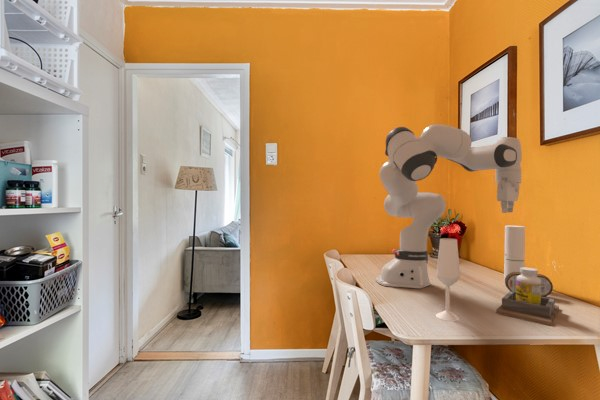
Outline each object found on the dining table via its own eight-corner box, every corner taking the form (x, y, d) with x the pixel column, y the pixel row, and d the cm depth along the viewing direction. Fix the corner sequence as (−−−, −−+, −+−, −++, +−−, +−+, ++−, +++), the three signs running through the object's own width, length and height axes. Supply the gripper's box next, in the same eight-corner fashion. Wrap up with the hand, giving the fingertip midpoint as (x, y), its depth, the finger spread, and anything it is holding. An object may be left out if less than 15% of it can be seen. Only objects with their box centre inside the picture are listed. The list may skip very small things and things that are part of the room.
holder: (551, 325, 93) (551, 311, 93) (495, 313, 103) (496, 300, 102) (558, 308, 107) (559, 296, 107) (509, 299, 117) (509, 288, 117)
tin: (551, 296, 121) (551, 274, 121) (553, 299, 118) (554, 276, 118) (504, 291, 127) (504, 270, 127) (505, 293, 124) (505, 271, 124)
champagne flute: (432, 312, 102) (433, 237, 102) (453, 313, 102) (454, 237, 102) (440, 320, 96) (441, 240, 95) (463, 321, 95) (464, 240, 95)
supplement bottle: (510, 304, 108) (511, 266, 108) (529, 304, 108) (530, 266, 108) (526, 311, 101) (527, 271, 101) (546, 311, 102) (546, 271, 102)
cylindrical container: (517, 282, 141) (518, 225, 140) (527, 287, 133) (528, 227, 133) (500, 282, 141) (501, 225, 141) (509, 286, 134) (510, 226, 134)
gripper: (511, 176, 120) (511, 213, 120) (522, 179, 134) (521, 212, 134) (492, 177, 124) (491, 213, 124) (504, 179, 139) (504, 211, 139)
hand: (507, 212), depth 129 cm, fingers open, 8 cm apart
